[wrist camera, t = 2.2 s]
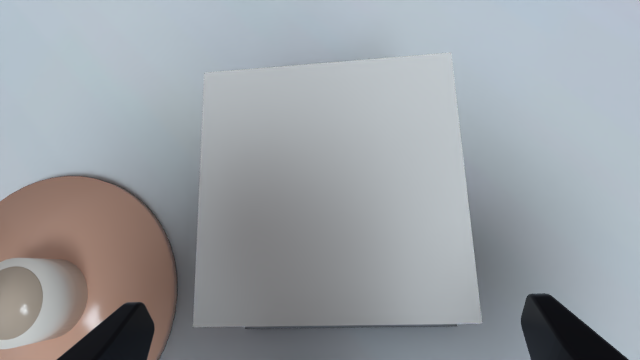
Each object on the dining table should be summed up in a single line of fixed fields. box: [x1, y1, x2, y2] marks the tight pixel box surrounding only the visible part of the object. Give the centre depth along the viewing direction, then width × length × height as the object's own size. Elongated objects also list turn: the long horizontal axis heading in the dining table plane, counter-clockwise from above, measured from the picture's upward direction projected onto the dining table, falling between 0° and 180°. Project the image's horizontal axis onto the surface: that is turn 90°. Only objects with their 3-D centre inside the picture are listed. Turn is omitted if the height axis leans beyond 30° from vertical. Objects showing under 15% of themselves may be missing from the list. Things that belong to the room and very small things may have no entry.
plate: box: [0, 176, 177, 360], centre depth 20 cm, size 13×13×1 cm
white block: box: [193, 53, 482, 327], centre depth 15 cm, size 7×7×9 cm
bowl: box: [0, 258, 88, 349], centre depth 19 cm, size 4×4×2 cm
